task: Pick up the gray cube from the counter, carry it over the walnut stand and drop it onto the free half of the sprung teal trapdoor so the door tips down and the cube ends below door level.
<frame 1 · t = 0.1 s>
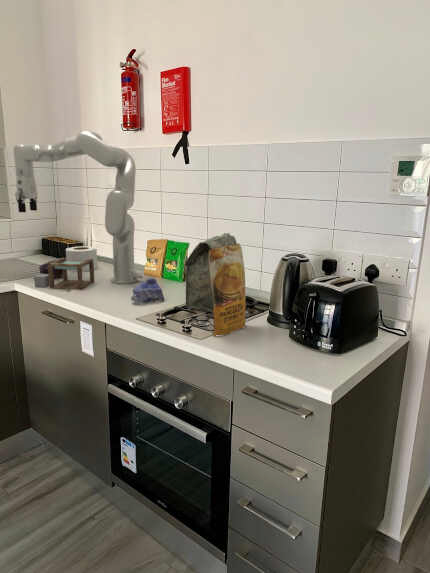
hand: (28, 211, 203), 31 cm above the worktop, tool pointing down, fingers open, 9 cm apart
mineral: (146, 301, 176), on the worktop
frame: (72, 285, 197), on the worktop
gray cube: (43, 286, 195), on the worktop
toilet paper roll: (82, 268, 231), on the worktop
pancake mix bag: (227, 330, 145), on the worktop
trapdoor: (71, 265, 195), point 9 cm above the worktop, hinge at 0.0°
bag: (213, 304, 173), on the worktop
rock: (54, 278, 210), on the worktop
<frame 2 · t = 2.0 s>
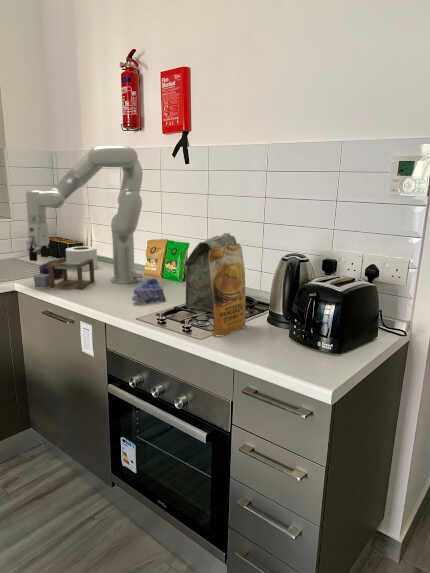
hand: (39, 258, 191), 12 cm above the worktop, tool pointing down, fingers open, 9 cm apart
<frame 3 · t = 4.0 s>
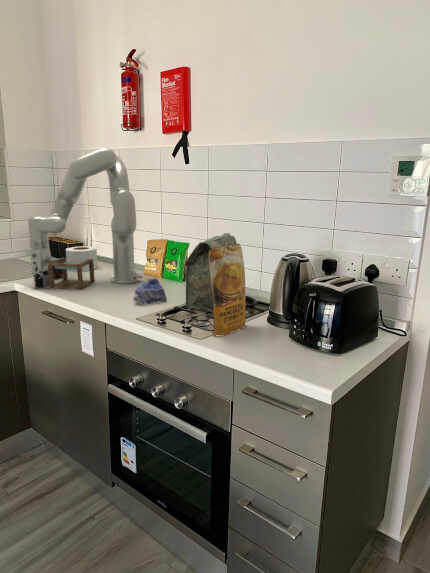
hand: (42, 284, 195), 0 cm above the worktop, tool pointing down, fingers closed on gray cube, 5 cm apart
gray cube: (43, 286, 195), on the worktop, touching gripper
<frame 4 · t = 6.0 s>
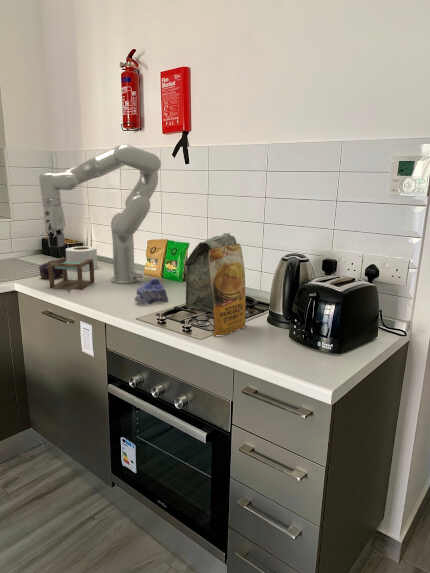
hand: (57, 244, 191), 18 cm above the worktop, tool pointing down, fingers closed on gray cube, 5 cm apart
gray cube: (57, 245, 191), point 18 cm above the worktop, touching gripper
when the fingers open (13 cm above the worktop, at t = 7.8 s): gray cube drops 7 cm and tips over, resting on trapdoor.
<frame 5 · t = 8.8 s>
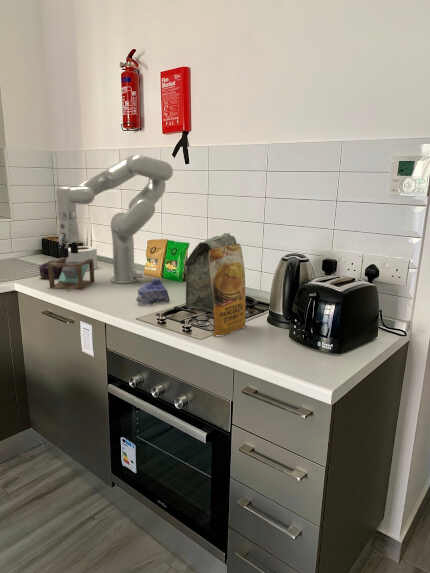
hand: (69, 255, 193), 14 cm above the worktop, tool pointing down, fingers open, 9 cm apart
gray cube: (72, 273, 196), point 5 cm above the worktop, tilted 37°, touching trapdoor
trapdoor: (73, 272, 197), point 5 cm above the worktop, hinge at -37.2°, touching gray cube
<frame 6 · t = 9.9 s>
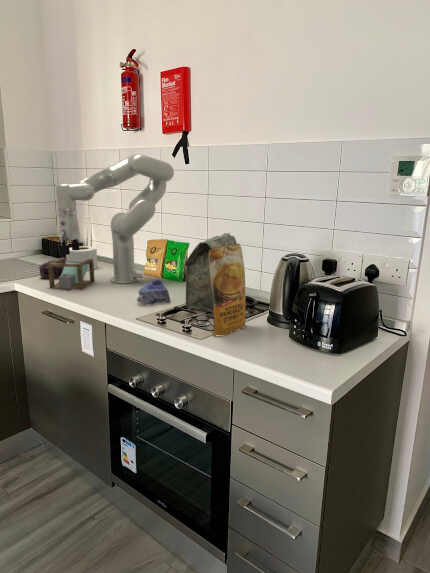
hand: (71, 252, 193), 15 cm above the worktop, tool pointing down, fingers open, 9 cm apart
gray cube: (69, 279, 193), point 3 cm above the worktop, tilted 94°, touching frame
trapdoor: (73, 273, 197), point 5 cm above the worktop, hinge at -41.0°
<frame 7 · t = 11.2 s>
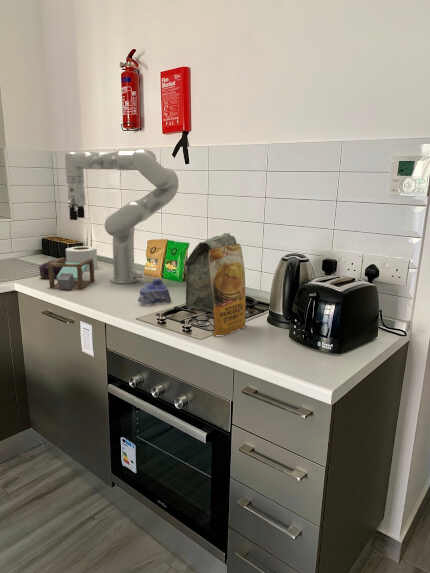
hand: (77, 218, 202), 28 cm above the worktop, tool pointing down, fingers open, 9 cm apart
gray cube: (68, 278, 192), point 4 cm above the worktop, tilted 110°, touching frame
trapdoor: (72, 270, 196), point 6 cm above the worktop, hinge at -25.3°
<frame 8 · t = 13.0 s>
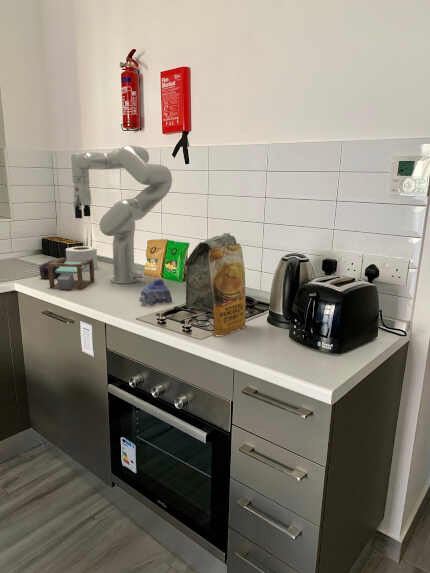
hand: (83, 217, 209), 28 cm above the worktop, tool pointing down, fingers open, 9 cm apart
gray cube: (68, 278, 192), point 4 cm above the worktop, tilted 109°, touching frame, trapdoor
trapdoor: (71, 267, 195), point 8 cm above the worktop, hinge at -10.0°, touching gray cube
at the end: gray cube point 4.2 cm above the worktop; gray cube moved 12.9 cm from its start; the gripper is holding nothing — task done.
